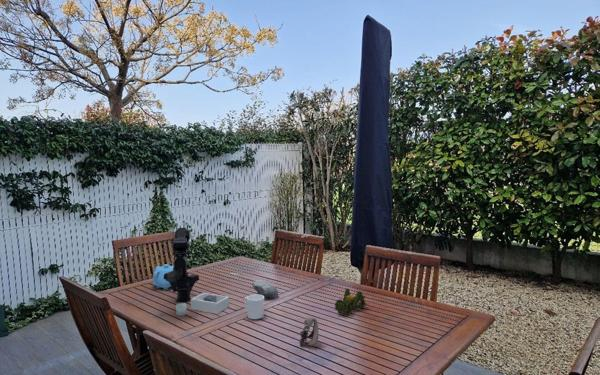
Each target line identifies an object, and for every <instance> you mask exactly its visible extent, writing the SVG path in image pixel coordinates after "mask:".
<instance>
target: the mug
mask: <svg viewBox="0 0 600 375" xmlns="http://www.w3.org/2000/svg"><path fill="white" fill-rule="evenodd" d="M243 301H244V302H243V303H244V305H245V308H246V310H247V319H248V320H251V321H259V320H262V319H264V312H265V310H264V309H265V306H264V305H265V304H264V303H265V298H264V296H263V295H258V293H257V294H250V295H247V296H245V297H244V299H243Z"/></svg>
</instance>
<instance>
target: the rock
mask: <svg viewBox="0 0 600 375" xmlns="http://www.w3.org/2000/svg"><path fill="white" fill-rule="evenodd" d="M252 287H253V289H254V290H255V291H256V292H257V294H258V295H263V296H264V299H269V300H272V299H274V298H276V297H278V296H279V292H278V289H277V286H274V285H273V284H271V283H270V282H269V281H268V280H265V279H256V280H255V281H253V282H252Z"/></svg>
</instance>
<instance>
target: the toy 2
mask: <svg viewBox="0 0 600 375" xmlns="http://www.w3.org/2000/svg"><path fill="white" fill-rule="evenodd" d="M356 292H357V293H356V295H352V294H351V291H350V288H345V291H344V294H343V299H339V298H338V299H337V300H336V302H335V303H334V310H335V311H337V313H339V312H341V313H344V312H346V311H347V312H346V315H347V316H350V315H349V314H351V312H352V310H353V308H357V305H358V303H359V302H360V305H359V307H358V309H360V308H363V309H364V308H365V305H366V301H365V299H366V296H365V295H363V293H362V291H359V290H358V291H356Z"/></svg>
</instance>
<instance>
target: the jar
mask: <svg viewBox="0 0 600 375" xmlns="http://www.w3.org/2000/svg"><path fill="white" fill-rule="evenodd" d="M175 308H176V309H175V311H176V312H175V313H176V316H178V317H180V316H181V317H182V316H185V315H186V314H187V303H186V302H185V303H182V302H178V303H176V305H175Z"/></svg>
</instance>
